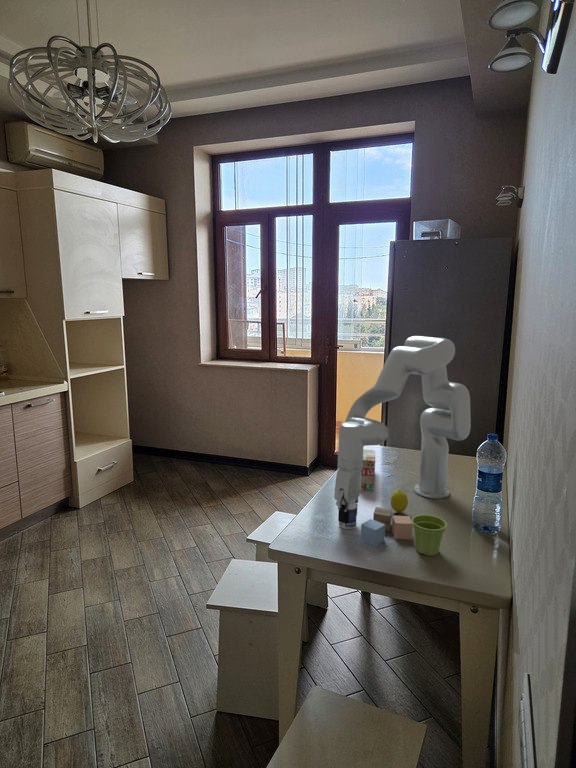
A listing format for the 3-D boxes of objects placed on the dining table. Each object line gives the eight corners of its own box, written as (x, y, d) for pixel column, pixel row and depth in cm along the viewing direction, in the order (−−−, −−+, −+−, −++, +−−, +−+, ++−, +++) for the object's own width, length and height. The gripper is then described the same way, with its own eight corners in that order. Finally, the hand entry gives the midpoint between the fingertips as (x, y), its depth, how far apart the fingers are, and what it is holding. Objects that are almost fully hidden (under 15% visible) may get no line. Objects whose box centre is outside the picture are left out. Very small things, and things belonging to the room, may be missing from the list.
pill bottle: (358, 524, 148) (360, 495, 146) (352, 531, 143) (353, 501, 141) (342, 520, 150) (344, 491, 149) (335, 526, 146) (337, 497, 144)
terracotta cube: (391, 530, 144) (392, 515, 143) (408, 531, 144) (409, 516, 143) (394, 538, 139) (395, 523, 138) (411, 539, 139) (412, 523, 138)
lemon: (394, 517, 153) (396, 494, 152) (387, 510, 158) (388, 487, 157) (410, 515, 155) (411, 492, 153) (401, 508, 160) (403, 486, 158)
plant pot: (403, 543, 136) (405, 515, 135) (433, 540, 138) (435, 513, 137) (419, 561, 127) (422, 531, 126) (451, 557, 130) (453, 528, 128)
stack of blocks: (358, 470, 195) (359, 442, 193) (373, 471, 194) (375, 443, 192) (356, 490, 175) (358, 458, 172) (373, 492, 174) (375, 460, 171)
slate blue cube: (369, 534, 142) (370, 518, 141) (384, 540, 138) (385, 524, 137) (360, 540, 138) (361, 524, 137) (375, 546, 135) (375, 530, 134)
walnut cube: (374, 521, 150) (375, 506, 149) (390, 524, 149) (391, 509, 148) (372, 528, 145) (373, 513, 145) (389, 531, 144) (390, 515, 143)
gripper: (351, 453, 152) (348, 505, 155) (325, 468, 138) (323, 525, 141) (372, 457, 148) (369, 511, 151) (349, 473, 134) (346, 532, 137)
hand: (347, 517), depth 146 cm, fingers closed on pill bottle, 5 cm apart
